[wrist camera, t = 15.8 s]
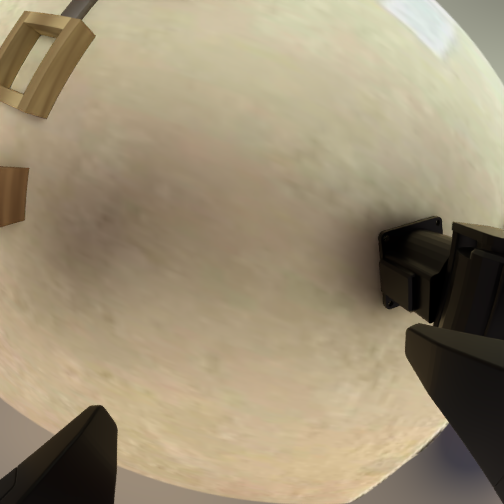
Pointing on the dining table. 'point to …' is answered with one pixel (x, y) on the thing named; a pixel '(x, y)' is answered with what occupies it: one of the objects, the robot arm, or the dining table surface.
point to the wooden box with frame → (55, 61)
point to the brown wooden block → (12, 194)
